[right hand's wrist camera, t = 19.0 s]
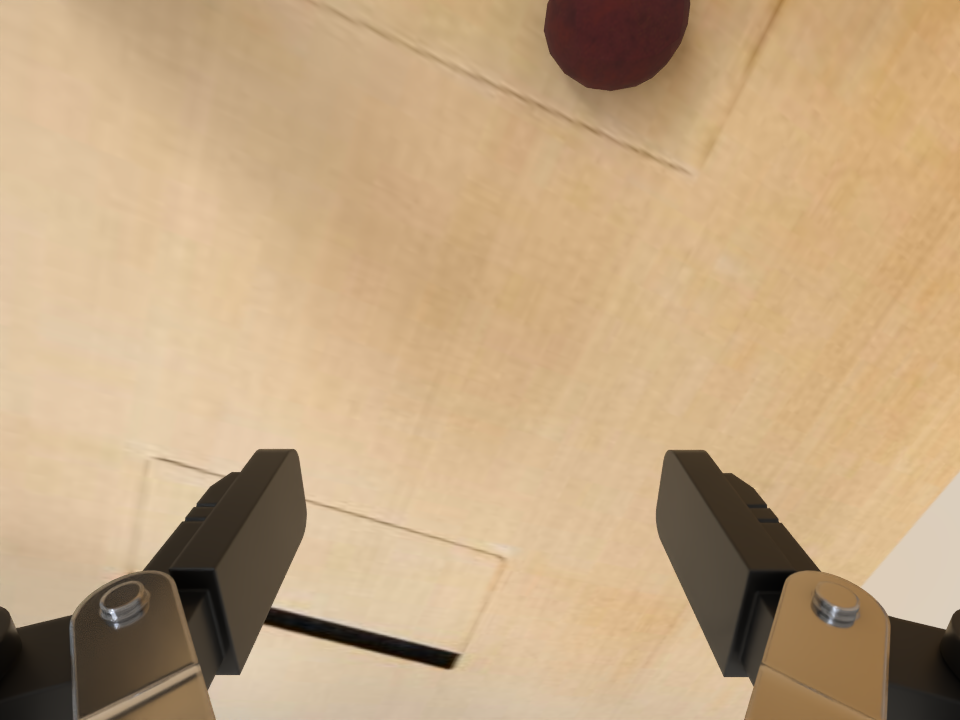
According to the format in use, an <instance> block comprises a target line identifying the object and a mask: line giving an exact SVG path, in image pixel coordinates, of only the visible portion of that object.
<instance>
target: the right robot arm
mask: <svg viewBox="0 0 960 720" xmlns="http://www.w3.org/2000/svg"><path fill="white" fill-rule="evenodd" d="M306 519H307V510H306V502H305V495H304V488H303V482H302V475H301V468H300V461H299V456H298V453H297V452H296V450H294V449H259V450H257V451H256V452H255V453H254V455H253V456H252V457H251V459H250V460H249V461H248V463H247V464H246V465H245V467H244V468H243V469H242V471H241V472H231V473H230V474H228V475H227V476H225V477H224V478H222V479H221V480H219V481H218V482H217V483H215V484H214V485H212V486H211V487H210V488H209V489H208V490H207V491H206V493H205V494H204V495H203V496H202V498H201V499H200V500H199V501H198V503H197V506H196V507H194V508H193V509H192V510H191V511H190V513H189V514H188V515H187V516H186V518H185V522H182V523H181V524H180V525H179V526H178V528H177V529H176V530H175V531H174V533H173V534H172V535H171V536H170V537H169V539H168V540H167V541H166V542H165V544H164V545H163V546H162V547H161V549H160V550H159V551H158V552H157V554H156V555H155V556H154V557H153V559H152V560H151V561H150V562H149V564H148V565H147V566H146V567H145V569H144V570H143V571H141V572H136V573H131V574H128V575H125V576H122V577H119V578H117V579H115V580H113V581H111V582H109V583H107V584H105V585H103V586H102V587H100V588H98V589H97V590H95V591H94V592H93V593H91V594H90V595H89V596H88V597H87V598H86V599H85V600H83V601H82V602H81V604H80V605H79V606H78V607H77V608H76V610H75V612H74V613H73V615H70V616H66V617H62V618H58V619H54V620H49V621H45V622H41V623H37V624H33V625H28V626H24V627H20V628H16V627H15V625H14V623H13V621H12V618H11V616H10V614H9V612H8V611H7V610H6V609H5V608H3V607H0V720H216V719H215V715H214V712H213V709H212V705H211V702H210V698H209V695H208V689H209V687H210V685H211V683H212V681H213V679H214V677H215V675H240V674H241V671H242V669H243V667H244V665H245V663H246V660H247V658H248V656H249V654H250V652H251V650H252V647H253V645H254V643H255V641H256V639H257V636H258V634H259V632H260V630H261V628H262V626H263V623H264V621H265V619H266V617H267V615H268V612H269V610H270V608H271V606H272V604H273V602H274V599H275V597H276V595H277V593H278V591H279V588H280V586H281V584H282V582H283V580H284V578H285V575H286V573H287V571H288V569H289V567H290V564H291V562H292V560H293V558H294V556H295V554H296V551H297V549H298V547H299V545H300V543H301V540H302V538H303V535H304V532H305V527H306ZM656 524H657V530H658V534H659V537H660V540H661V542H662V544H663V546H664V549H665V551H666V553H667V555H668V557H669V559H670V562H671V564H672V566H673V568H674V570H675V572H676V574H677V577H678V579H679V581H680V583H681V585H682V587H683V590H684V592H685V594H686V596H687V598H688V600H689V603H690V605H691V607H692V609H693V611H694V613H695V615H696V618H697V620H698V622H699V624H700V626H701V628H702V631H703V633H704V635H705V637H706V639H707V641H708V643H709V646H710V648H711V650H712V652H713V654H714V656H715V659H716V661H717V663H718V665H719V667H720V669H721V672H722V674H723V676H724V677H749V678H750V680H751V682H752V684H753V686H754V688H753V691H752V695H751V698H750V702H749V705H748V709H747V712H746V715H745V719H744V720H960V610H957V611H956V612H955V613H954V614H953V616H952V618H951V620H950V623H949V625H948V627H947V629H946V630H945V629H941V628H936V627H932V626H928V625H924V624H919V623H915V622H911V621H907V620H902V619H898V618H895V617H891V616H888V615H887V613H886V612H885V610H884V608H883V607H882V606H881V605H880V604H879V602H877V601H876V600H875V599H874V598H873V597H872V596H871V595H870V594H869V593H867V592H866V591H865V590H863V589H862V588H860V587H858V586H857V585H855V584H853V583H851V582H849V581H847V580H845V579H843V578H841V577H838V576H835V575H832V574H829V573H824V572H821V571H820V570H819V569H818V567H817V566H816V565H815V564H814V562H813V561H812V560H811V559H810V557H809V556H808V555H807V554H806V553H805V551H804V550H803V549H802V548H801V546H800V545H799V544H798V543H797V541H796V540H795V539H794V538H793V536H792V535H791V534H790V533H789V532H788V530H787V529H786V528H785V527H784V525H783V524H782V523H779V521H778V518H777V517H776V515H775V514H774V513H773V512H772V511H771V509H770V508H767V504H766V503H765V502H764V501H763V499H762V498H761V497H760V496H759V495H758V493H757V492H756V491H755V490H754V488H753V487H751V486H750V485H748V484H747V483H745V482H744V481H742V480H741V479H739V478H738V477H736V476H735V475H733V474H732V473H722V471H721V470H720V469H719V467H718V466H717V465H716V463H715V462H714V461H713V460H712V458H711V457H710V456H709V454H708V453H707V452H706V451H705V450H668V451H667V452H666V454H665V457H664V461H663V467H662V474H661V481H660V487H659V494H658V501H657V507H656Z"/></svg>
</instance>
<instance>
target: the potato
mask: <svg viewBox="0 0 960 720" xmlns="http://www.w3.org/2000/svg"><path fill="white" fill-rule="evenodd" d="M689 9H690V0H549V2H548V4H547V11H546V19H545V26H544V33H545V37H546V40H547V44H548V48H549V52H550V54H551V56H552V57H553V58H554V60H555V61H556V62H557V64H558V65H559V66H560V68H561V69H562V71H563V72H564V73H565V74H567V75H568V76H570V77H571V78H573V79H574V80H576V81H578V82H579V83H581V84H582V85H584V86H585V87H587V88H593V89H601V90H608V91H613V90H618V89H624V88H629V87H634V86H637V85H639V84H641V83H643V82H645V81H647V80H649V79H651V78H652V77H653V76H654V75H656V74H657V73H658V72H659V71H660V70H661V69H662V68H663V67H664V66H665V65H666V64H667V63H668V61H669V60H670V58H671V57H672V55H673V54H674V52H675V51H676V49H677V48H678V46H679V45H680V43H681V41H682V38H683V35H684V33H685V30H686V27H687V24H688V17H689Z"/></svg>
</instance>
